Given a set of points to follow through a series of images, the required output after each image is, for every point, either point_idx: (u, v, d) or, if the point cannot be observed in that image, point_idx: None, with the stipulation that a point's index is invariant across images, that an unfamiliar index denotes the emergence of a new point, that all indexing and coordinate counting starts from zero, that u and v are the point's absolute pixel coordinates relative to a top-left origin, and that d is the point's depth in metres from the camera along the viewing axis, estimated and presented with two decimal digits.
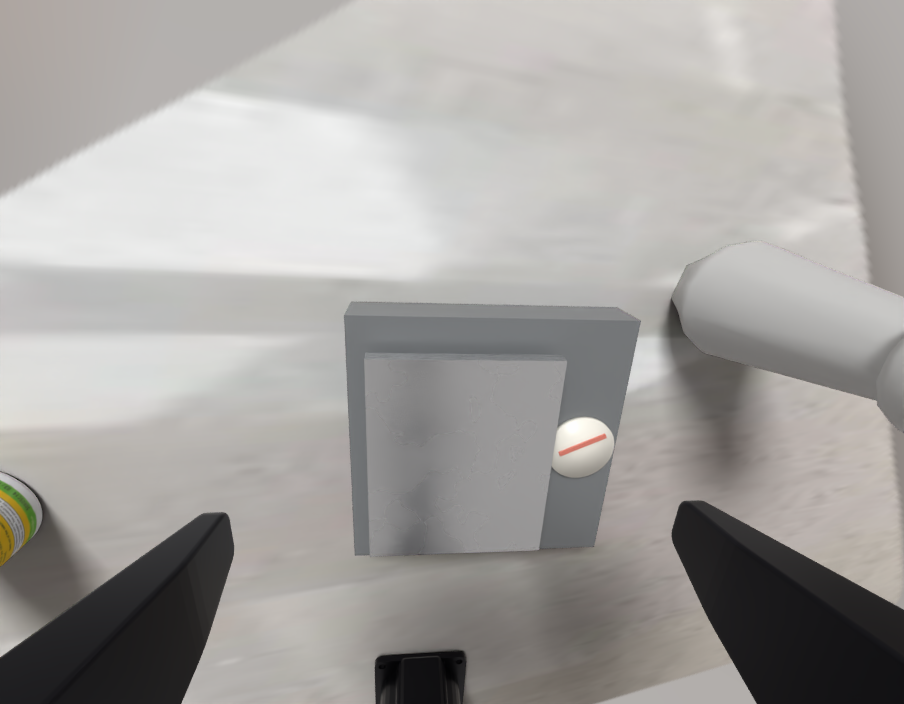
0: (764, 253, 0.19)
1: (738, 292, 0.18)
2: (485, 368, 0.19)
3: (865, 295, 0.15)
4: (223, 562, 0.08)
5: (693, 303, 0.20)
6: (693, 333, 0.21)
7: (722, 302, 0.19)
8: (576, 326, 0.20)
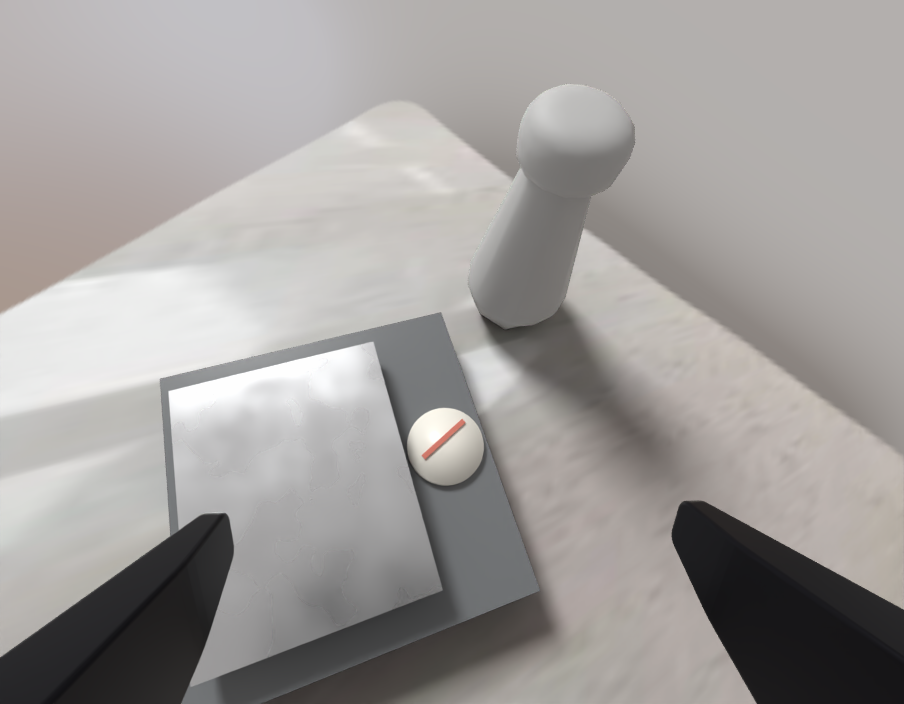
0: None
1: (482, 248, 0.23)
2: (295, 368, 0.19)
3: None
4: (223, 562, 0.08)
5: (473, 285, 0.24)
6: (490, 306, 0.23)
7: (480, 262, 0.23)
8: (385, 331, 0.22)
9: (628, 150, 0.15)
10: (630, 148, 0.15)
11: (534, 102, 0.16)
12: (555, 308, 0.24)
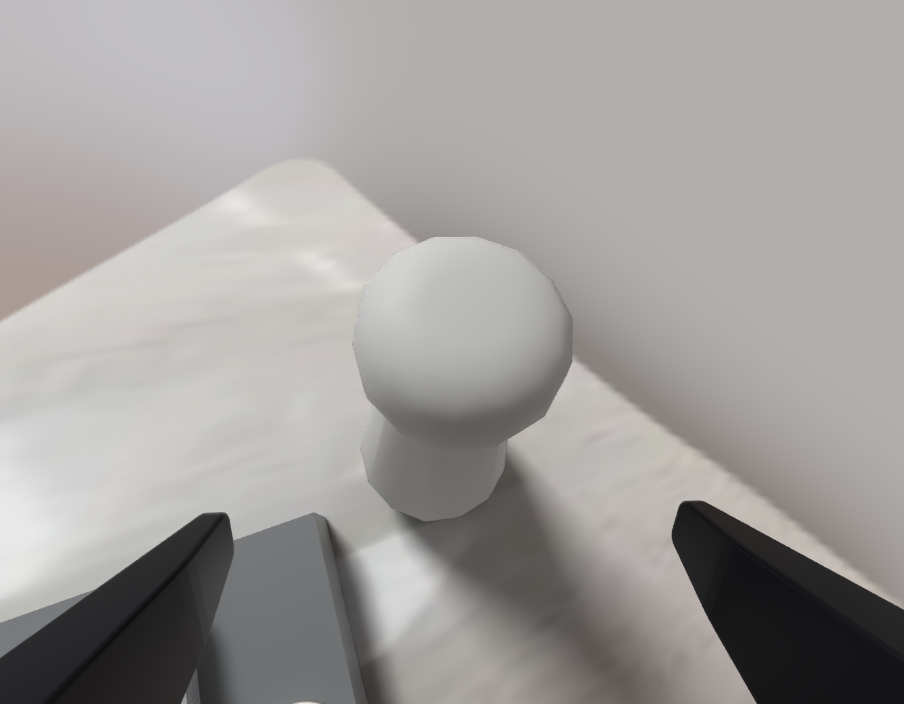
0: None
1: (368, 422, 0.15)
2: None
3: None
4: (223, 562, 0.08)
5: (365, 464, 0.16)
6: (387, 500, 0.16)
7: (366, 442, 0.15)
8: None
9: (557, 384, 0.08)
10: (562, 377, 0.08)
11: (372, 283, 0.08)
12: (486, 496, 0.16)
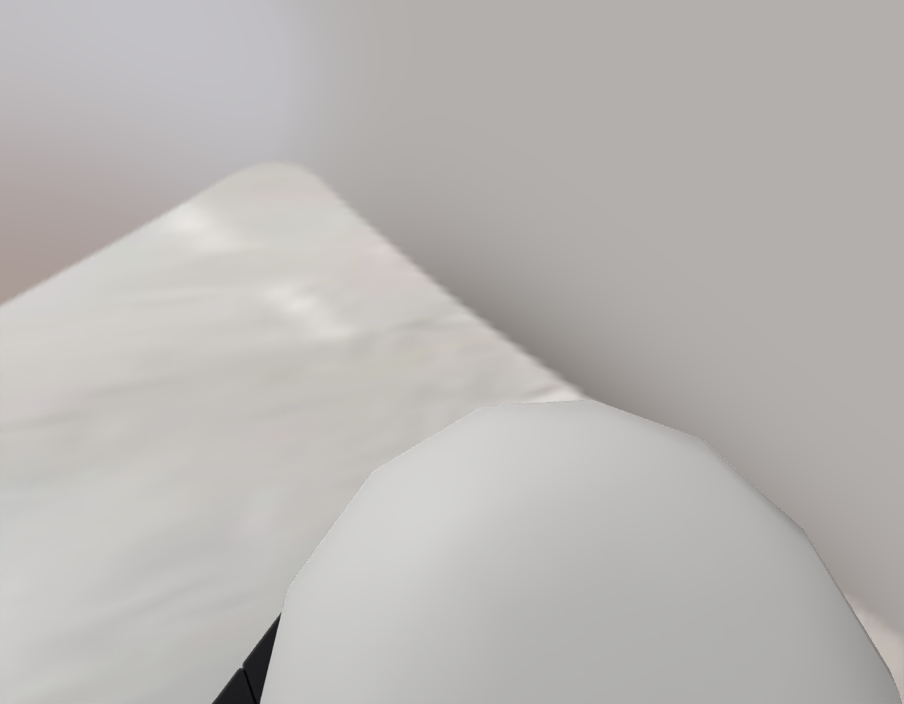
0: None
1: None
2: None
3: None
4: None
5: None
6: None
7: None
8: None
9: None
10: None
11: (306, 604, 0.03)
12: None
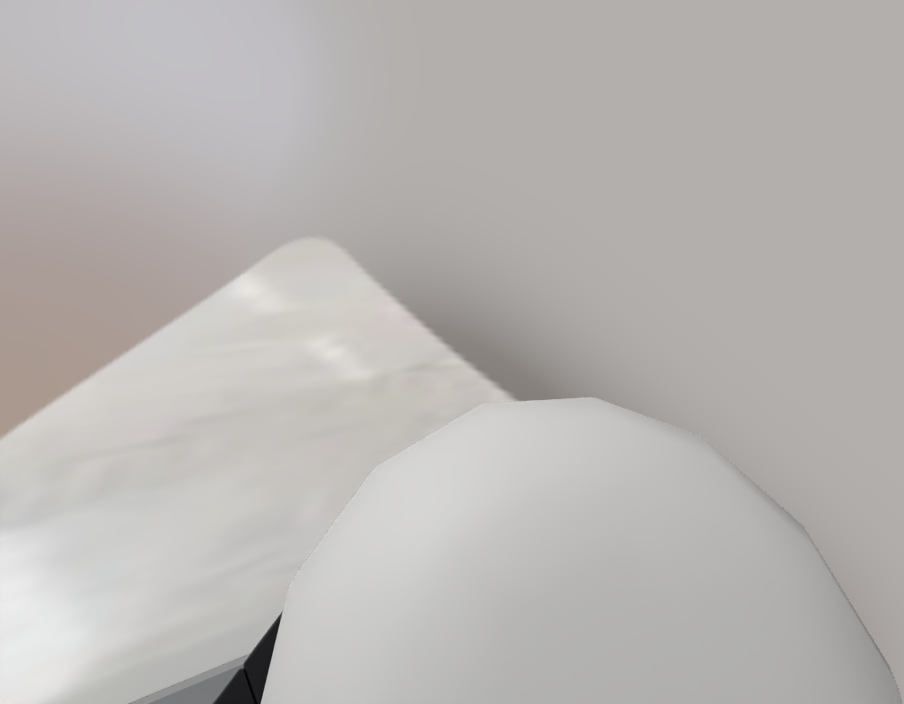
0: None
1: None
2: None
3: None
4: None
5: None
6: None
7: None
8: None
9: None
10: None
11: (308, 601, 0.03)
12: None
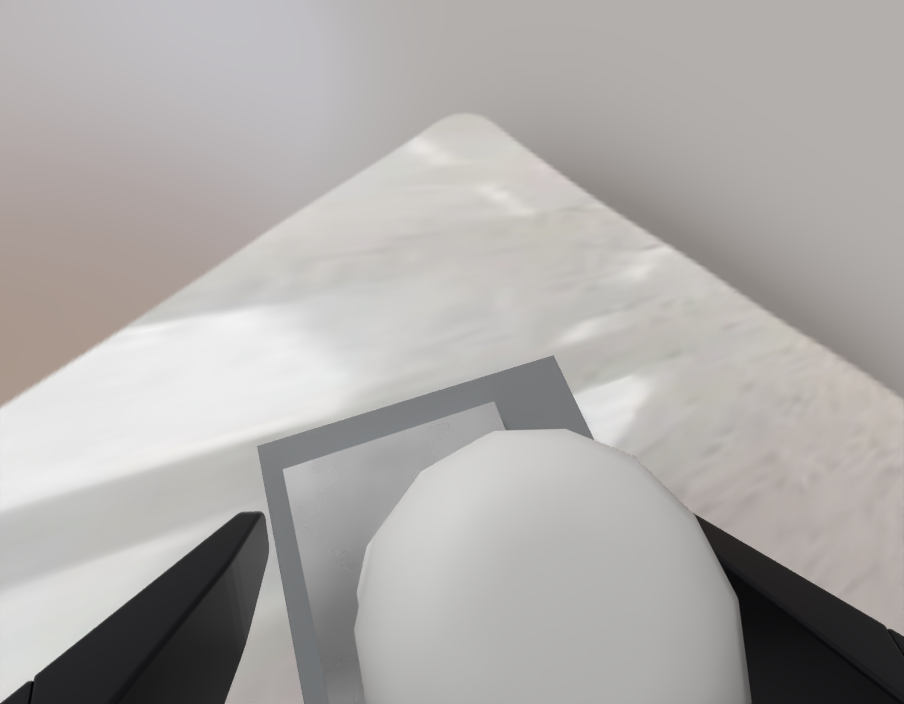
0: None
1: None
2: (415, 436, 0.18)
3: None
4: (260, 561, 0.08)
5: None
6: None
7: None
8: (497, 379, 0.20)
9: None
10: None
11: (395, 542, 0.04)
12: None
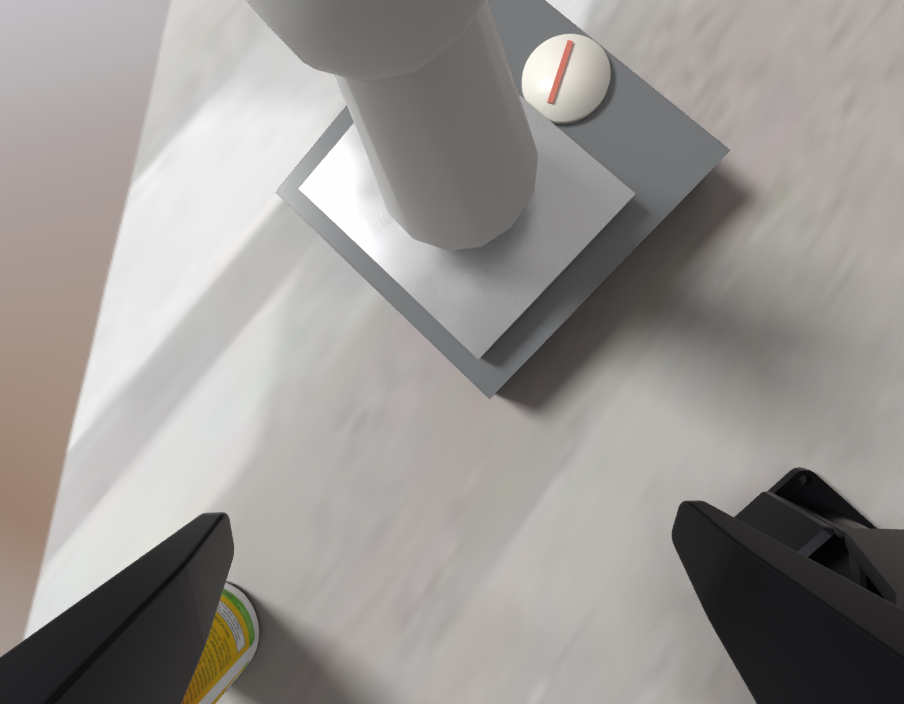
0: None
1: None
2: None
3: None
4: (223, 562, 0.08)
5: (399, 222, 0.15)
6: (437, 242, 0.15)
7: (384, 194, 0.14)
8: None
9: None
10: None
11: None
12: (530, 189, 0.15)
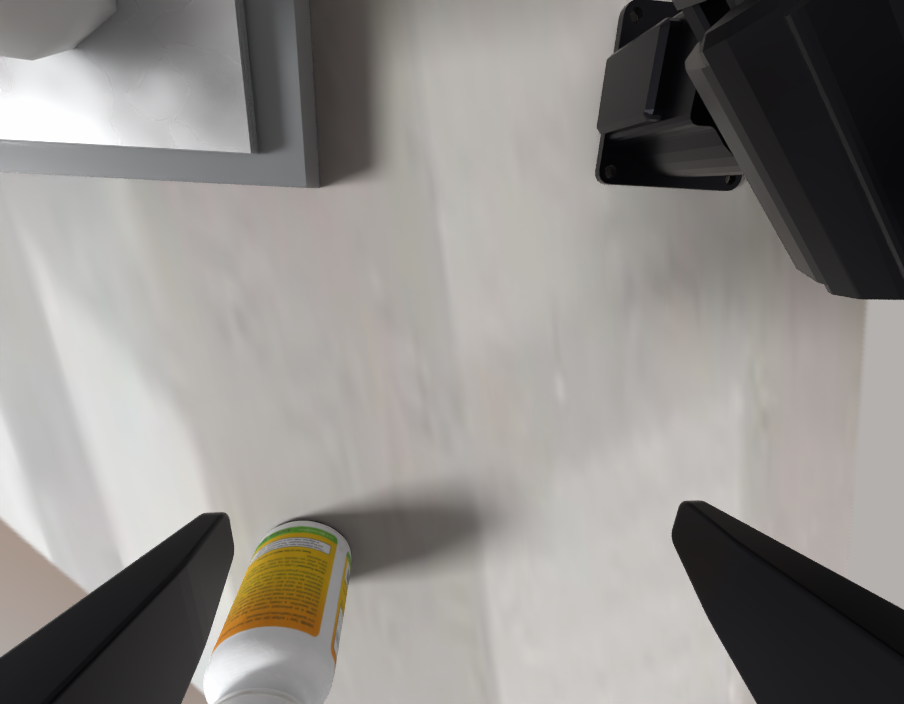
0: None
1: None
2: None
3: None
4: (223, 562, 0.08)
5: None
6: (38, 34, 0.10)
7: None
8: None
9: None
10: None
11: None
12: None
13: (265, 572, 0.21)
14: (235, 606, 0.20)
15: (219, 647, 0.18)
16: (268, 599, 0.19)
